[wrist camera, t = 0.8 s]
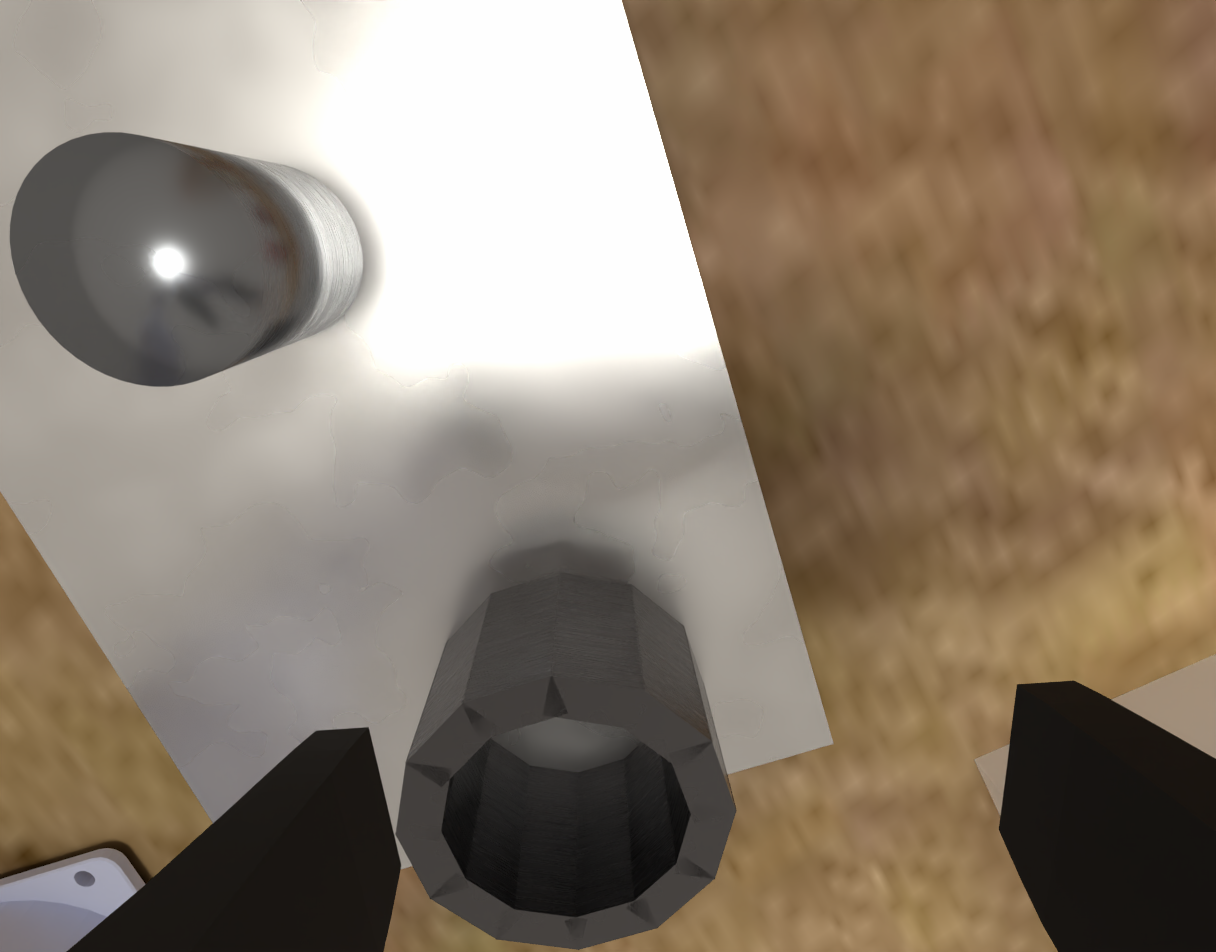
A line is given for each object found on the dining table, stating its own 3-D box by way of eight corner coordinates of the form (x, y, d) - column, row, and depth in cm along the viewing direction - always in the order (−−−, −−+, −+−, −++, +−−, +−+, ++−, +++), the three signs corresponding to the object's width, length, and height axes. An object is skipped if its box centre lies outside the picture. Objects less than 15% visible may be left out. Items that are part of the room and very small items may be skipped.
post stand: (285, 869, 20) (172, 1109, 15) (-227, 39, 14) (-766, -85, 8) (819, 713, 19) (912, 909, 14) (534, -273, 13) (494, -659, 7)
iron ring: (496, 824, 18) (473, 978, 15) (398, 622, 17) (342, 739, 13) (729, 756, 18) (767, 897, 14) (655, 541, 16) (675, 637, 12)
